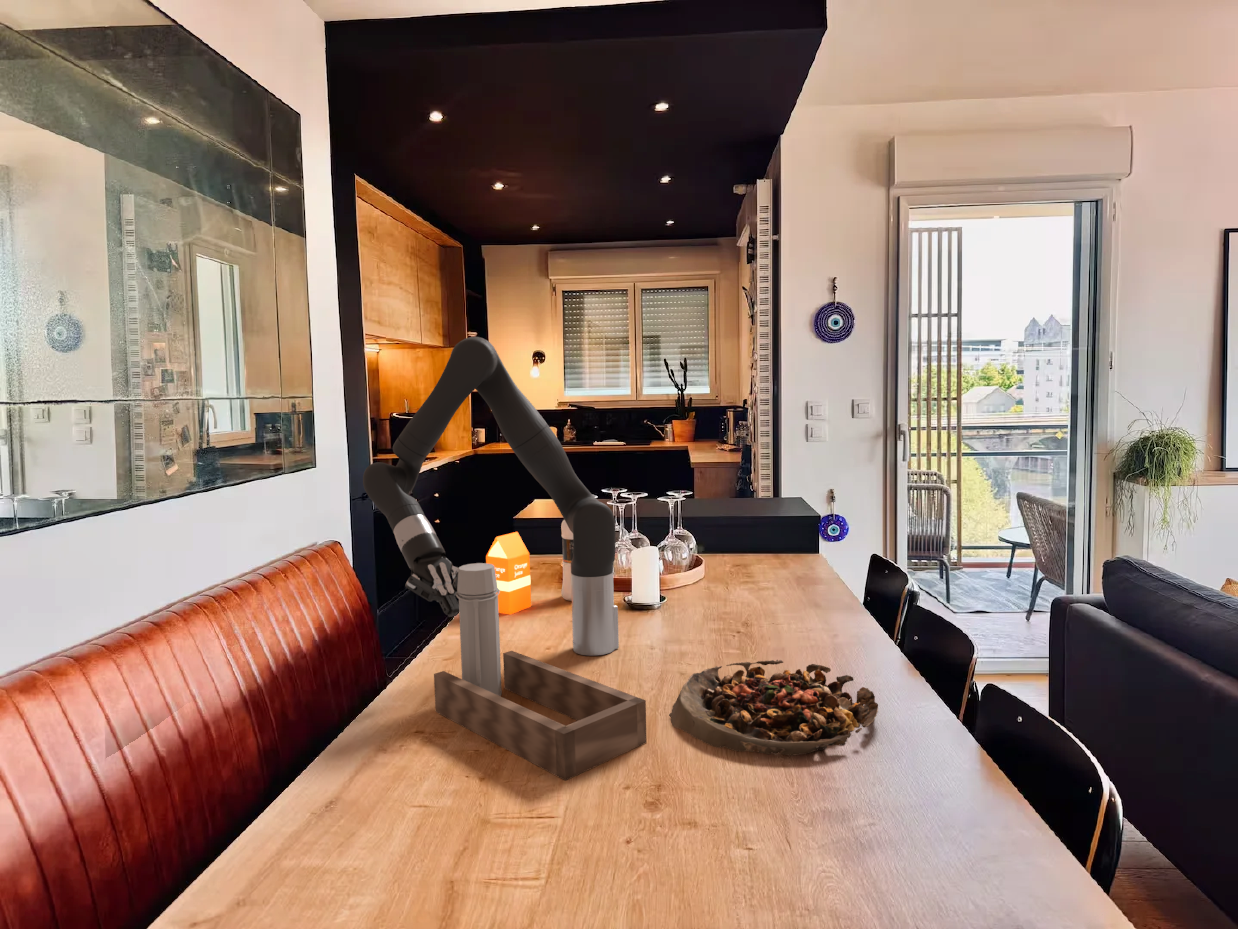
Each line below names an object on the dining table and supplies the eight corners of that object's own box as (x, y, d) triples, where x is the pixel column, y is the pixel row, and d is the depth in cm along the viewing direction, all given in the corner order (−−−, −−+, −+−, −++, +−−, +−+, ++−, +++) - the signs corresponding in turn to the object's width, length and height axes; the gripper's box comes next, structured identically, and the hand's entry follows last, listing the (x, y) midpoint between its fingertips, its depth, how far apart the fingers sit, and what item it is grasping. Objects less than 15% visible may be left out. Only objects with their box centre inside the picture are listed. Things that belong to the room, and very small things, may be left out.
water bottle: (463, 692, 148) (457, 563, 145) (504, 690, 148) (500, 561, 146) (457, 712, 139) (451, 574, 136) (501, 710, 139) (496, 572, 137)
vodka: (584, 591, 222) (581, 487, 219) (601, 598, 214) (598, 490, 211) (555, 597, 217) (552, 490, 214) (572, 604, 209) (569, 493, 206)
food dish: (878, 696, 145) (880, 656, 144) (875, 785, 114) (877, 734, 113) (694, 672, 156) (694, 634, 155) (645, 746, 125) (645, 700, 124)
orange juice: (531, 606, 207) (529, 532, 206) (510, 614, 200) (507, 538, 198) (509, 602, 212) (506, 530, 210) (487, 610, 204) (484, 535, 202)
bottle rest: (435, 712, 139) (433, 673, 138) (512, 685, 151) (511, 650, 150) (565, 780, 113) (564, 734, 113) (646, 742, 125) (645, 700, 124)
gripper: (394, 536, 149) (430, 610, 141) (453, 526, 158) (490, 596, 150) (382, 559, 153) (416, 632, 146) (441, 549, 162) (476, 617, 155)
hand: (454, 614), depth 148 cm, fingers closed
